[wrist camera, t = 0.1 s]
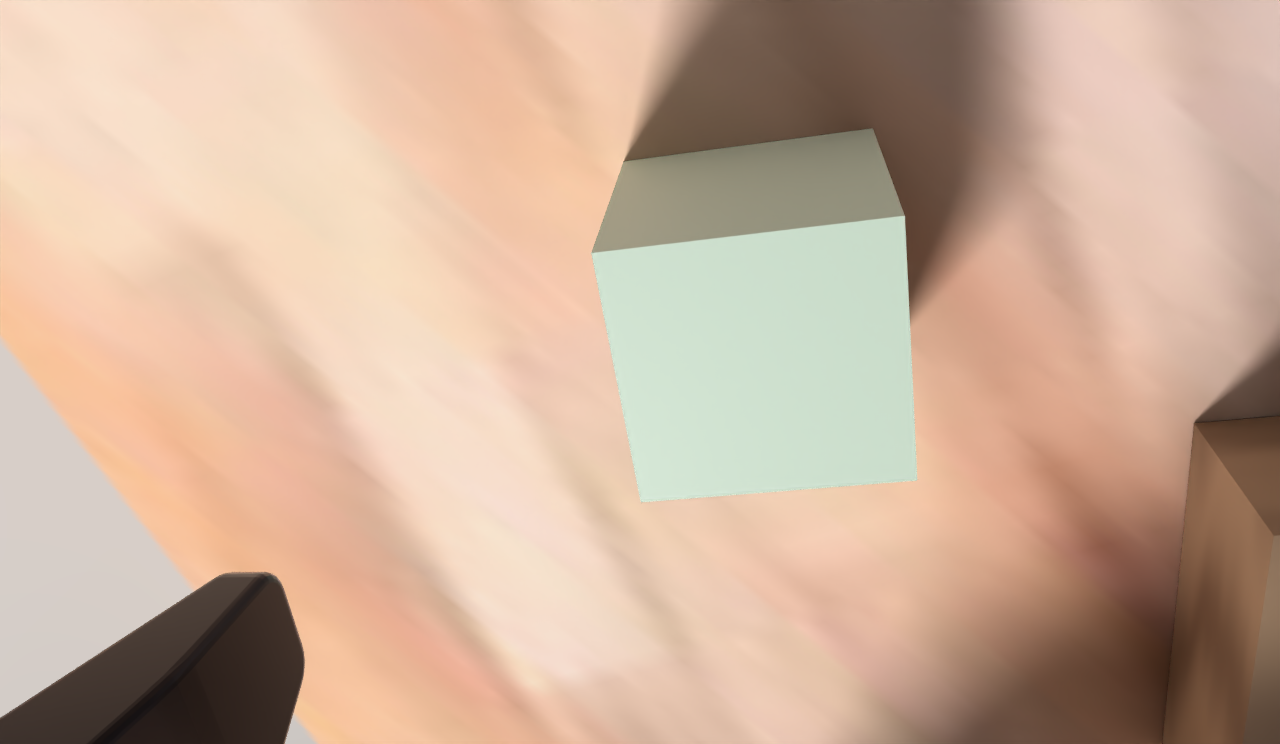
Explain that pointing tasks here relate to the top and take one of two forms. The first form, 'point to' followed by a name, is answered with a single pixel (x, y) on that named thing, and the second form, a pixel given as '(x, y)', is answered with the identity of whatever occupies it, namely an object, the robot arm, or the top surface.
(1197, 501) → the walnut base
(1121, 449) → the top surface
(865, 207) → the sage cube
